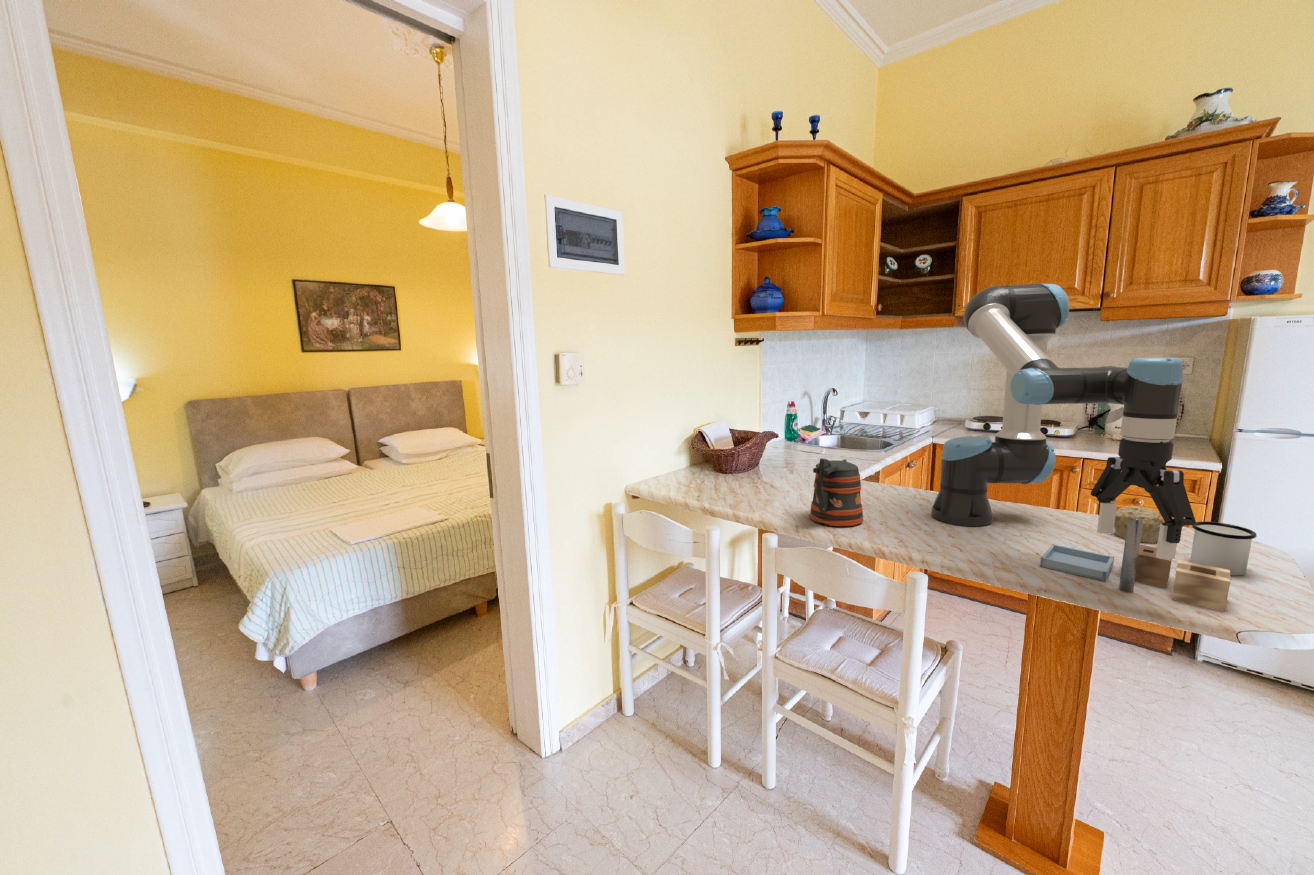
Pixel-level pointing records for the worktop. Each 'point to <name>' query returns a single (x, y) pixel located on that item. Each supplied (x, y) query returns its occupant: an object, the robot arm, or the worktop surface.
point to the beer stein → (836, 494)
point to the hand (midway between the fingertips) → (1133, 544)
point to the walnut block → (1152, 567)
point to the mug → (1222, 546)
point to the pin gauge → (1130, 554)
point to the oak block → (1201, 585)
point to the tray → (1077, 562)
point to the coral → (1149, 522)
